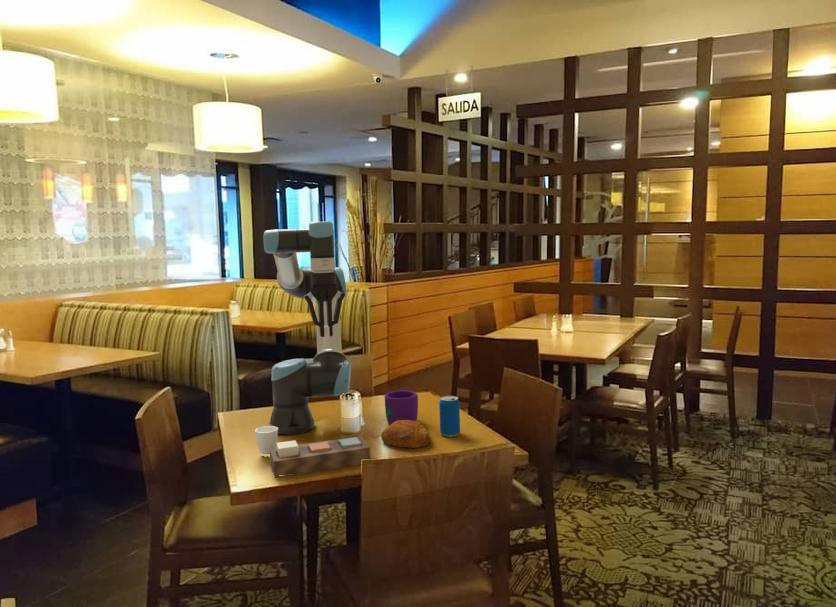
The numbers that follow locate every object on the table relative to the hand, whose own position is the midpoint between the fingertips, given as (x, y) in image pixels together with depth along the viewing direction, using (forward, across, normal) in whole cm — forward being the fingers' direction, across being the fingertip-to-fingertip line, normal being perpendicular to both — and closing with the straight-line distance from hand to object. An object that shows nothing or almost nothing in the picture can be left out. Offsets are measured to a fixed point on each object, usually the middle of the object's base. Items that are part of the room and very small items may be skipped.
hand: (326, 346), depth 199 cm
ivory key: (+28, -16, -18) cm, 37 cm away
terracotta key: (+30, -7, -18) cm, 36 cm away
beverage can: (+31, +37, -10) cm, 49 cm away
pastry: (+31, +22, -11) cm, 39 cm away
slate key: (+30, +2, -18) cm, 35 cm away
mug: (+31, +26, +12) cm, 42 cm away
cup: (+31, -20, -4) cm, 37 cm away
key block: (+30, -7, -18) cm, 36 cm away
